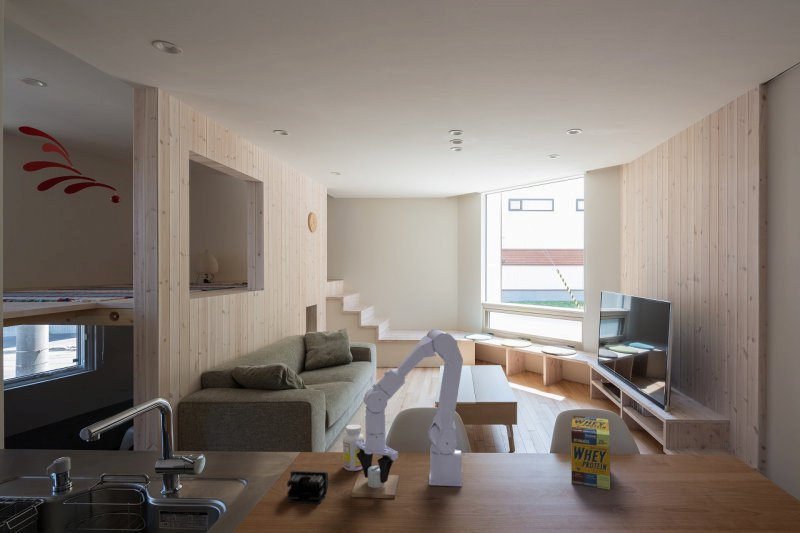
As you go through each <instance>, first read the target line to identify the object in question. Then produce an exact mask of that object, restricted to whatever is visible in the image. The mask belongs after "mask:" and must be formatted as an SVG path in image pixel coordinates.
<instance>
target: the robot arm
mask: <svg viewBox="0 0 800 533" xmlns="http://www.w3.org/2000/svg"><path fill="white" fill-rule="evenodd" d="M458 345H459V344H458V341H457V339H455V337H453V335H452V334H450V333H447V332H444V331H443V330H441V329H438V328H434V329H431V330H429V331H428V333H427V334H426V335H423V337H421V338H420V341H418V343H417V344H416V345H415V346H414V348H413V349H412V350H411V352H409V353H408V355H407V356H406V357H405V358H404V359H403V361H402V362H401V363H400V364H399V365H398V367H396V368H390V369H389V370H385V371H384V373H383V375H384V376H382V377H381V378H380V380H379V381H378V382H377V383H374V384H372V388H370V389H368V390H366V392H365V394H364V396H363V403H364V404H365V416H364V417H365V421H364V422H365V441H364V442H362V441H357V442H355V449H356V450H358V449H360V451H359V453H357V457H358V459H359V461H360V463H361V465H362V471H363V474H364V475H365V478H367V477H368V468H369V467H371V466H373V464H372V463H373V457H374V455H378V456H381V457H380V458H378V459H377V464H378V465H379V467H380V476H381V483H385V482H386V481H387V480H388V475H390V471H391V469H392V466H393V463H394V462H395V461H396V460H397V459H399V451H397V450H394V449H393V448H391V447H389V446H388V445H386V444H387V443H386V414H385V409H386V408H387V406H388V401H389V400H391V399H392V397H393V396H394V395H395V394H396V393H398V391H399V390H400V389H401V388H402V386H404V384H406V383H405V382H406V381H405V380H406V376H407V375H408V374H409V373H410V372H411V371H413V370H414V369H415V367H417V366H418V365H419V364H420V362H422V360H424V359H425V358H430V357H432V358H433V357H436V356H437V355H438V356H439V358H440V359H441V360H442V361H443V362H444V365H443V371H442V378H441V383H440V390H439V391H440V392H439V397H438V405H437V409H436V410H437V411H436V415H435V416H434V417H433V420H432V424H431V425H430V427H429V429H428V430H427V431H428V432H427V433H428V435H427V437H428V439H429V440H430V441H431V445H430V448H429V449H430V454H429V455H430V456H429V457H430V458H429V459H430V471H429V480H428V485H429V486H446V487H447V486H449V487H462V486H463V476H464V471H463V469H462V468H463V467H462V466H463V465H462V462H463V460H462V458H463V457H462V450H460V449H456V448H457V446H458V439H457V437H456V436H457V434H456V431H457V427H456V424H455V414H456V408H457V400H458V395H459V389H460V384H461V383H460V381H461V376H462V371H463V370H462V368H463V363H464V359H463V357H462V354H461V351H460V348H459V346H458ZM436 354H437V355H436Z"/></svg>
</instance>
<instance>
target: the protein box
mask: <svg viewBox="0 0 800 533" xmlns="http://www.w3.org/2000/svg"><path fill="white" fill-rule="evenodd" d="M609 423H610V422H609V419H607V418H598V417H591V416H590V417H589V416H581V415H572V421H571V429H570V464H571V466H570V467H571V468H570V471H571V477H570V478H571V485H572V484H573V485H578V486H584V487H589V488H590V487H591V488H598V489H602V490H603V489H604V490H611V436H610V435H611V434H610V424H609Z"/></svg>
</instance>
